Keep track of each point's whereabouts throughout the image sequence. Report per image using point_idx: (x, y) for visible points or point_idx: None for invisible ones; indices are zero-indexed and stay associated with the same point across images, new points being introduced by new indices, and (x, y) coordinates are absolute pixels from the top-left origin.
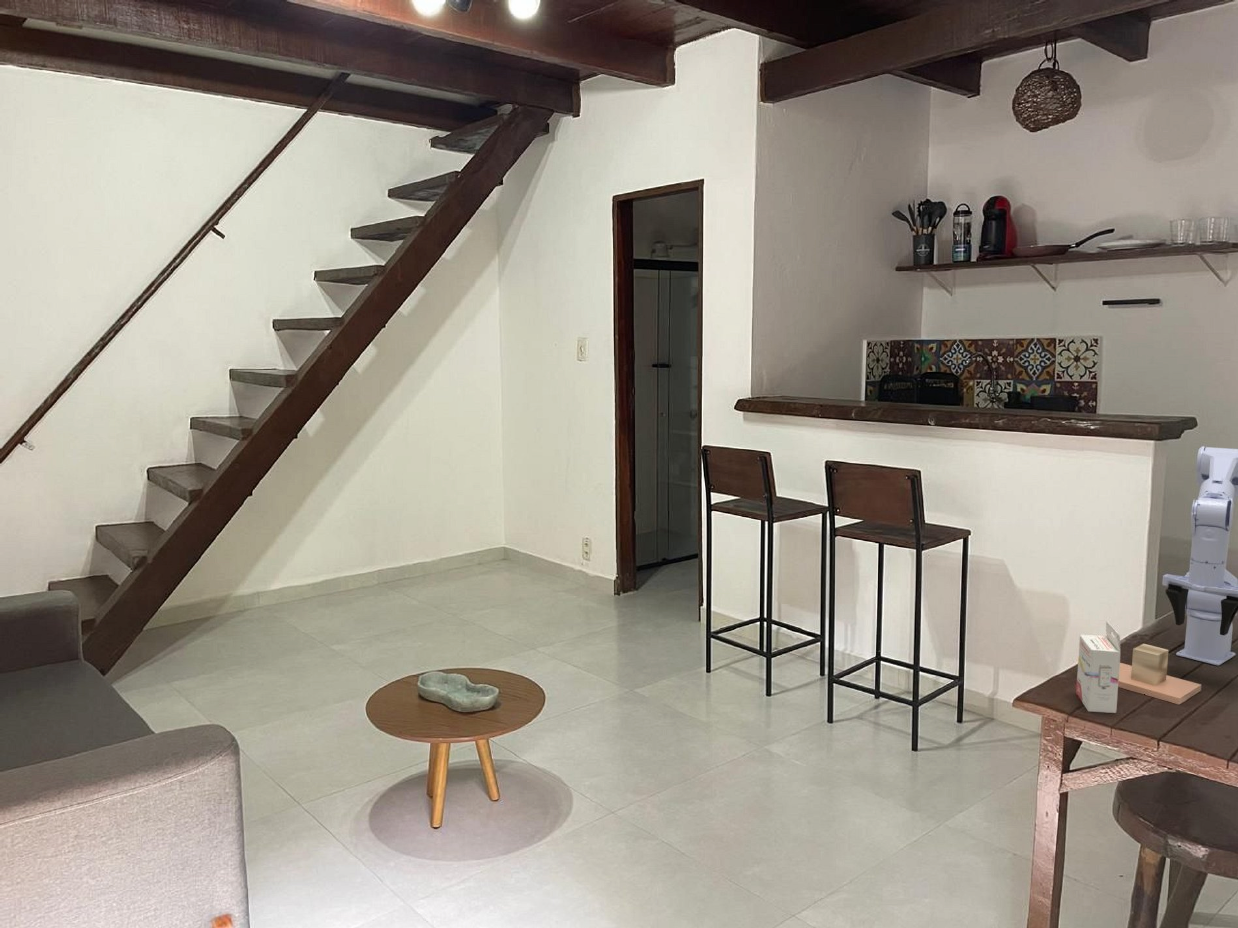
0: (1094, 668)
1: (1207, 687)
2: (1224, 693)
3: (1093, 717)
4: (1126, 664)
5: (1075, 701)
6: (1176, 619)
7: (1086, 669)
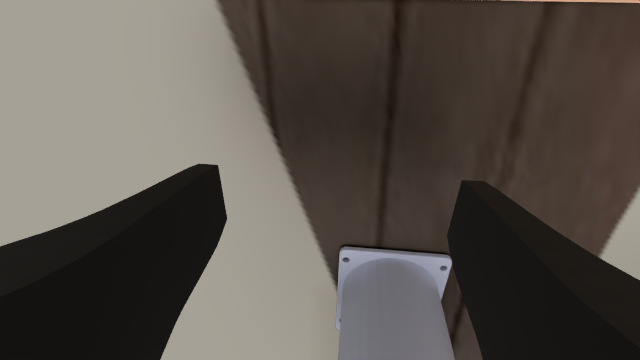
0: None
1: (300, 52)
2: (242, 36)
3: None
4: (609, 1)
5: None
6: (498, 195)
7: None
